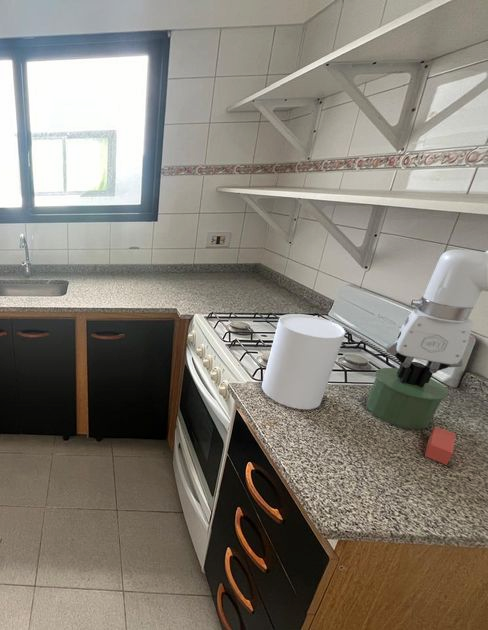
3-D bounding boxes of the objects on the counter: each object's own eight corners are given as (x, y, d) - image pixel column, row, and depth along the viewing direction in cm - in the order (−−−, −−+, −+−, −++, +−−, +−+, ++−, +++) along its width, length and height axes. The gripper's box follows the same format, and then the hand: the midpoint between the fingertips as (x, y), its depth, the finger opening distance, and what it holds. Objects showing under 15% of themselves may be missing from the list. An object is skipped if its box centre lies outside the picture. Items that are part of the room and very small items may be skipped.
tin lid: (437, 381, 82) (447, 359, 80) (454, 409, 73) (466, 386, 70) (370, 366, 88) (378, 346, 86) (378, 391, 79) (387, 369, 77)
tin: (421, 408, 85) (435, 379, 82) (434, 436, 77) (451, 405, 73) (363, 393, 91) (374, 365, 88) (369, 418, 82) (381, 388, 79)
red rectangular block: (428, 437, 76) (434, 425, 75) (449, 445, 74) (455, 433, 73) (424, 456, 72) (430, 444, 70) (446, 465, 69) (453, 453, 68)
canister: (251, 379, 97) (267, 315, 89) (296, 376, 98) (316, 312, 90) (283, 411, 85) (304, 339, 77) (334, 407, 86) (360, 336, 78)
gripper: (397, 307, 74) (368, 379, 81) (508, 324, 66) (464, 402, 73) (390, 297, 80) (364, 365, 87) (491, 311, 72) (453, 384, 79)
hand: (410, 381), depth 80 cm, fingers closed on tin lid, 2 cm apart
